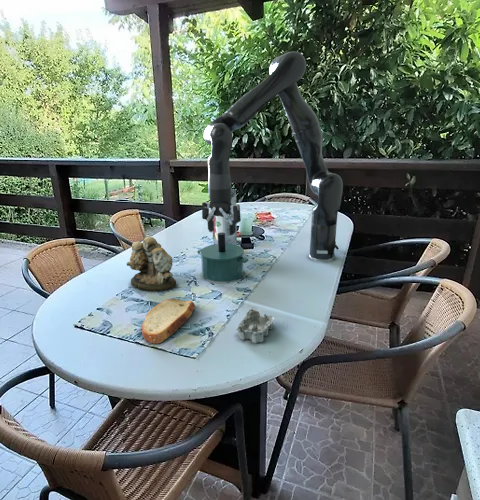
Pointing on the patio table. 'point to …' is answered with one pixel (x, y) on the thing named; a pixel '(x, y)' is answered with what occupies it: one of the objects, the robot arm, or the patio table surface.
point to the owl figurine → (151, 266)
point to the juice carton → (225, 225)
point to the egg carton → (254, 326)
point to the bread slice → (166, 319)
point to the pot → (222, 269)
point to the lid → (222, 250)
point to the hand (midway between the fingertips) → (221, 232)
